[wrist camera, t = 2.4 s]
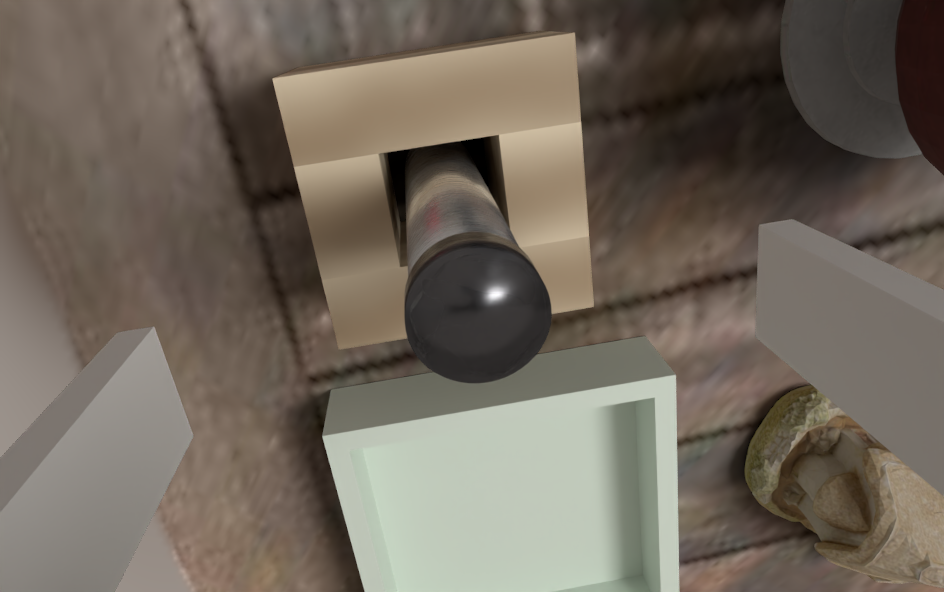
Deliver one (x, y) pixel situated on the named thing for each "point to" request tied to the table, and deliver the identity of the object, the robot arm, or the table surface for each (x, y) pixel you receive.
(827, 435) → the ceramic model
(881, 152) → the mate gourd
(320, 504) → the table surface
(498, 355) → the pin
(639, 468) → the tray
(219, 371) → the table surface
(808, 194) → the table surface
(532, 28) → the table surface
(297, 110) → the hitch block
